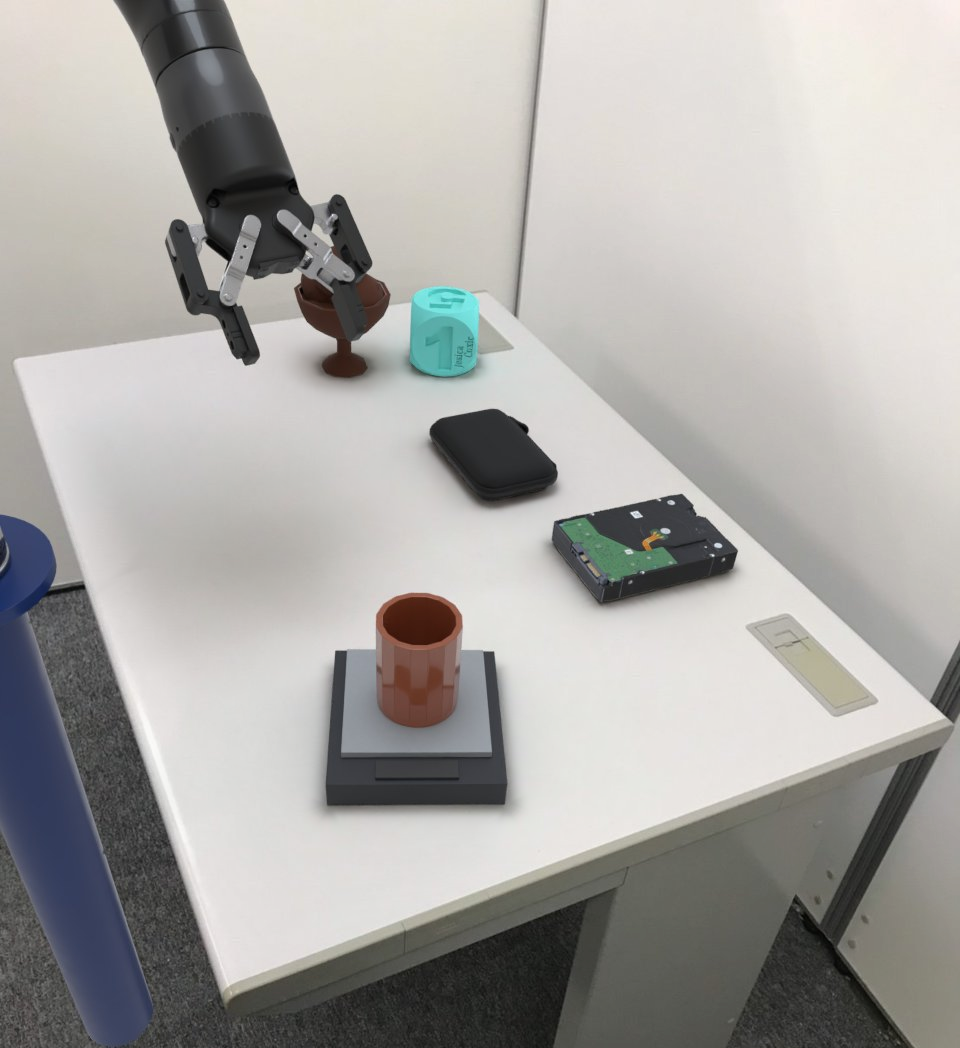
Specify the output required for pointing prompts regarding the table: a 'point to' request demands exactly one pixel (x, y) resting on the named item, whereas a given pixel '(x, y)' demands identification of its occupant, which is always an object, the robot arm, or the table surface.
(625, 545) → the disk drive
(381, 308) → the ice cream bowl
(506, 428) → the carrying case
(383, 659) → the cup
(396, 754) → the scale
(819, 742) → the table surface
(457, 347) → the decorative dice
